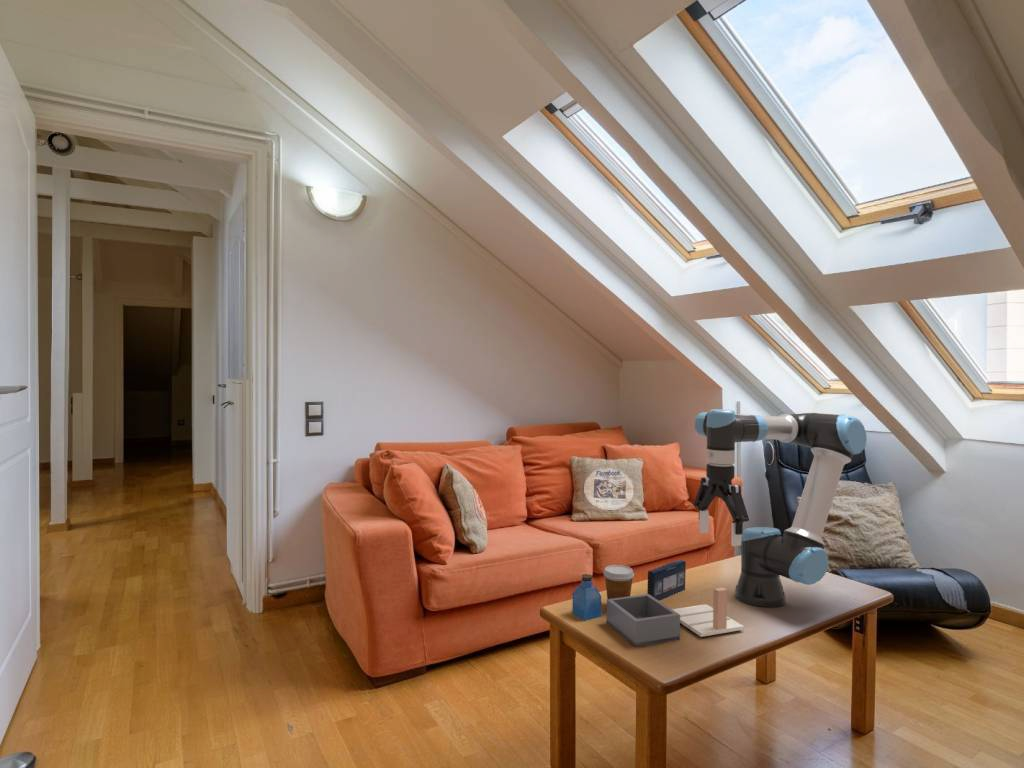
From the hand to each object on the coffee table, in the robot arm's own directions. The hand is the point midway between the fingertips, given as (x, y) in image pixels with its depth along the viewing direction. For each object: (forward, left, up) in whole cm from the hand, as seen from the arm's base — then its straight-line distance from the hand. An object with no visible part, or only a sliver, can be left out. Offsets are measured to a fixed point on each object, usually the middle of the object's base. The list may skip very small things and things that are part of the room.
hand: (719, 538), depth 166 cm
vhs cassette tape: (-2, -28, -27) cm, 39 cm away
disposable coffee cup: (+18, -25, -27) cm, 41 cm away
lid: (0, -6, -26) cm, 27 cm away
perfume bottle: (+30, -23, -27) cm, 46 cm away
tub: (+20, -8, -27) cm, 34 cm away
